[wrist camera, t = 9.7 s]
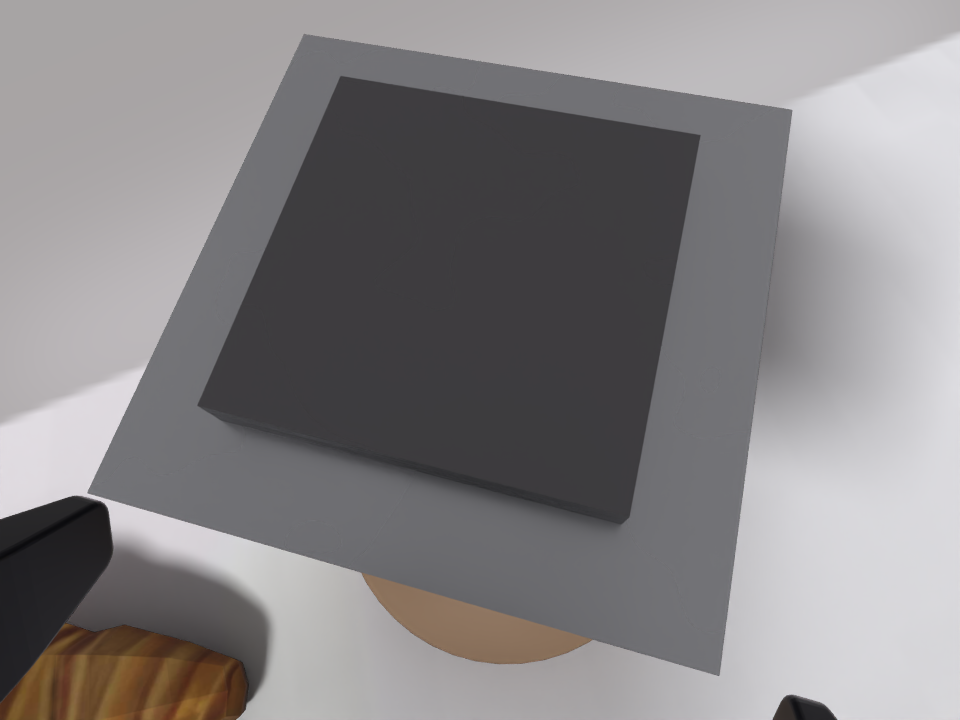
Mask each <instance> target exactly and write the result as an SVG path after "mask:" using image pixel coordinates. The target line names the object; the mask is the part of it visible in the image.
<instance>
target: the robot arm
mask: <svg viewBox="0 0 960 720" xmlns="http://www.w3.org/2000/svg"><path fill="white" fill-rule="evenodd" d="M112 554H113V541H112V533H111V526H110V518H109V511H108V508H107V506H106V505H105V504H104V503H103V502H101V501H97V500H94V499H90V498H87V497H83V496H71V497H68V498H65V499H62V500H59V501H55V502H52V503H49V504H46V505H43V506H40V507H37V508H34V509H31V510H28V511H25V512H21V513H18V514H15V515H12V516H9V517H6V518H3V519H0V703H1V702H2V701H3V700H4V699H5V697H6V696H7V695H8V694H9V693H10V692H11V691H12V690H13V688H14V687H15V686H16V685H17V684H18V683H19V682H20V680H21V679H22V678H23V677H24V676H25V675H26V673H27V672H28V671H29V670H30V669H31V667H32V666H33V665H34V664H35V662H36V661H37V660H38V659H39V657H40V656H41V655H42V653H43V652H44V651H45V650H46V648H47V647H48V646H49V644H50V643H51V642H52V640H53V639H54V638H55V636H56V635H57V634H58V632H59V631H60V630H61V628H62V627H63V625H64V624H65V623H66V621H67V620H68V619H69V617H70V616H71V615H72V613H73V612H74V611H75V609H76V608H77V607H78V605H79V604H80V603H81V601H82V600H83V599H84V597H85V596H86V594H87V593H88V592H89V590H90V589H91V588H92V586H93V585H94V584H95V582H96V581H97V580H98V578H99V577H100V576H101V574H102V573H103V572H104V570H105V569H106V567H107V566H108V564H109V562H110V560H111V557H112ZM773 720H837V718H836V717H835V716H834V714H833V713H832V712H831V711H830V710H829V708H827V707H826V706H825V705H824V704H822V703H820V702H817V701H814V700H810V699H807V698H803V697H799V696H796V695H787V696H785V697H784V698H783V700H782V701H781V703H780V705H779V707H778V709H777V711H776V713H775V715H774V717H773Z"/></svg>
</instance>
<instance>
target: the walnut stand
mask: <svg viewBox="0 0 960 720" xmlns="http://www.w3.org/2000/svg"><path fill="white" fill-rule="evenodd" d="M361 573H362V572H361ZM362 575H363V577H364V579H365V581H366V583H367V585H368V586H369V587H370V589H371V590H372V592H373V593H374V595H375V596H376V598H377V599H378V601H379V602H380V603H381V604H382V605H383V606H384V608H385V609H386V610H387V611H388V612H389V613H390V614H391V615H392V616H393V617H394V619H395V620H397V621H398V622H399V623H400V624H402V625H403V626H404V627H405V628H406V629H408V630H409V631H410V632H411V633H412V634H414V635H416V636H417V637H419V638H420V639H422V640H424V641H425V642H427V643H428V644H430V645H432V646H434V647H436V648H438V649H441V650H443V651H445V652H448V653H450V654H452V655H455V656H459V657H463V658H466V659H470V660H473V661H479V662H487V663H494V664H522V663H528V662H535V661H541V660H546V659H549V658H552V657H555V656H559V655H562V654H565V653H568V652H570V651H572V650H574V649H576V648H578V647H580V646H582V645H584V644H586V643H588V642H590V641H591V640H593V639H590V638H586V637H583V636H579V635H576V634H572V633H569V632H565V631H562V630H559V629H555V628H552V627H548V626H545V625H541V624H538V623H534V622H531V621H527V620H524V619H521V618H517V617H514V616H510V615H507V614H503V613H500V612H496V611H493V610H489V609H486V608H482V607H479V606H476V605H472V604H469V603H465V602H462V601H458V600H455V599H451V598H448V597H444V596H441V595H438V594H434V593H431V592H427V591H424V590H420V589H417V588H413V587H410V586H406V585H403V584H400V583H396V582H393V581H389V580H386V579H382V578H379V577H375V576H372V575H368V574H365V573H362Z"/></svg>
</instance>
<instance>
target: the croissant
mask: <svg viewBox="0 0 960 720" xmlns="http://www.w3.org/2000/svg"><path fill="white" fill-rule="evenodd" d="M248 687H249V684H248V680H247V677H246V673H245V670H244V666H243V663H242V662H240V661H238V660H236V659H233V658H231V657H228V656H226V655H223V654H220V653H218V652H215V651H212V650H210V649H207V648H204V647H202V646H199V645H196V644H194V643H191V642H188V641H184V640H180V639H177V638H173V637H169V636H165V635H161V634H157V633H154V632H150V631H146V630H142V629H138V628H135V627H131V626H127V625H122V626H118V627H114V628H110V629H106V630H102V631H98V632H92V631H89V630H86V629H83V628H80V627H77V626H73V625H70V624H67V623H65V624H64V625H63V627H62V628H61V630H60V631H59V632H58V634H57V635H56V636H55V638H54V639H53V640H52V642H51V643H50V644H49V646H48V647H47V648H46V650H45V651H44V652H43V653H42V655H41V656H40V657H39V659H38V660H37V661H36V662H35V664H34V665H33V666H32V667H31V669H30V670H29V671H28V672H27V673H26V675H25V676H24V677H23V678H22V679H21V680H20V682H19V683H18V684H17V685H16V686H15V687H14V688H13V690H12V691H11V692H10V693H9V694H8V695H7V696H6V697H5V699H4V700H3V701H2V702H1V703H0V720H236V719H237V718H239V717H240V716H241V715H242V713H243V712H244V711H245V710H246V702H247V694H248Z"/></svg>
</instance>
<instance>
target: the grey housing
mask: <svg viewBox="0 0 960 720" xmlns="http://www.w3.org/2000/svg"><path fill="white" fill-rule="evenodd" d="M791 116H792V110H790V109H783V108H777V107H770V106H764V105H758V104H751V103H745V102H738V101H732V100H725V99H719V98H712V97H706V96H700V95H693V94H687V93H680V92H674V91H667V90H660V89H654V88H647V87H641V86H635V85H628V84H622V83H616V82H609V81H603V80H596V79H590V78H583V77H577V76H571V75H564V74H558V73H551V72H544V71H538V70H532V69H525V68H519V67H513V66H506V65H499V64H493V63H486V62H480V61H474V60H467V59H460V58H454V57H448V56H442V55H435V54H429V53H422V52H416V51H409V50H403V49H397V48H390V47H384V46H377V45H371V44H364V43H358V42H351V41H345V40H339V39H332V38H325V37H319V36H313V35H306V34H304V35H303V38H302V40H301V42H300V44H299V46H298V48H297V50H296V52H295V54H294V57H293V59H292V61H291V63H290V65H289V67H288V69H287V71H286V74H285V76H284V78H283V80H282V82H281V84H280V86H279V88H278V90H277V93H276V95H275V97H274V99H273V101H272V103H271V105H270V108H269V110H268V112H267V114H266V116H265V118H264V120H263V122H262V124H261V127H260V129H259V131H258V133H257V135H256V137H255V139H254V141H253V143H252V146H251V148H250V150H249V152H248V154H247V156H246V158H245V160H244V163H243V164H242V167H241V169H240V171H239V173H238V175H237V177H236V179H235V181H234V184H233V186H232V188H231V190H230V192H229V194H228V196H227V198H226V200H225V203H224V205H223V207H222V209H221V211H220V213H219V215H218V217H217V220H216V222H215V224H214V226H213V228H212V230H211V232H210V234H209V237H208V239H207V241H206V243H205V245H204V247H203V249H202V251H201V253H200V255H199V258H198V260H197V262H196V264H195V266H194V268H193V270H192V273H191V274H190V277H189V279H188V281H187V283H186V285H185V287H184V289H183V291H182V293H181V296H180V298H179V300H178V302H177V304H176V306H175V308H174V310H173V313H172V315H171V317H170V319H169V321H168V323H167V326H166V327H165V329H164V332H163V334H162V336H161V338H160V340H159V342H158V344H157V347H156V348H155V351H154V353H153V355H152V357H151V359H150V361H149V363H148V365H147V368H146V370H145V372H144V374H143V376H142V378H141V380H140V382H139V384H138V387H137V389H136V391H135V393H134V395H133V397H132V399H131V401H130V403H129V406H128V408H127V410H126V412H125V414H124V416H123V418H122V420H121V423H120V425H119V427H118V429H117V431H116V433H115V435H114V437H113V439H112V442H111V444H110V446H109V448H108V450H107V452H106V454H105V456H104V458H103V461H102V463H101V465H100V467H99V469H98V471H97V473H96V475H95V478H94V480H93V482H92V484H91V486H90V488H89V490H88V492H87V493H89V494H92V495H95V496H99V497H102V498H106V499H109V500H113V501H116V502H120V503H123V504H127V505H130V506H133V507H137V508H140V509H144V510H147V511H151V512H154V513H158V514H161V515H165V516H168V517H171V518H175V519H178V520H182V521H185V522H189V523H192V524H196V525H199V526H203V527H206V528H210V529H213V530H216V531H220V532H223V533H227V534H230V535H234V536H237V537H241V538H244V539H248V540H251V541H254V542H258V543H261V544H265V545H268V546H272V547H275V548H279V549H282V550H286V551H289V552H292V553H296V554H299V555H303V556H306V557H310V558H313V559H317V560H320V561H324V562H327V563H330V564H334V565H337V566H341V567H344V568H348V569H351V570H355V571H358V572H362V573H365V574H368V575H372V576H375V577H379V578H382V579H386V580H389V581H393V582H396V583H400V584H403V585H406V586H410V587H413V588H417V589H420V590H424V591H427V592H431V593H434V594H438V595H441V596H444V597H448V598H451V599H455V600H458V601H462V602H465V603H469V604H472V605H476V606H479V607H482V608H486V609H489V610H493V611H496V612H500V613H503V614H507V615H510V616H514V617H517V618H521V619H524V620H527V621H531V622H534V623H538V624H541V625H545V626H548V627H552V628H555V629H559V630H562V631H565V632H569V633H572V634H576V635H579V636H583V637H586V638H590V639H593V640H597V641H600V642H603V643H607V644H610V645H614V646H617V647H621V648H624V649H628V650H631V651H635V652H638V653H641V654H645V655H648V656H652V657H655V658H659V659H662V660H666V661H669V662H673V663H676V664H679V665H683V666H686V667H690V668H693V669H697V670H700V671H704V672H707V673H711V674H714V675H717V676H719V674H720V666H721V659H722V651H723V643H724V635H725V628H726V620H727V612H728V604H729V597H730V589H731V581H732V573H733V566H734V558H735V550H736V542H737V535H738V527H739V519H740V512H741V504H742V496H743V488H744V481H745V473H746V465H747V457H748V450H749V442H750V434H751V426H752V419H753V411H754V403H755V395H756V388H757V380H758V372H759V364H760V357H761V349H762V341H763V333H764V326H765V318H766V310H767V302H768V295H769V287H770V279H771V271H772V264H773V256H774V248H775V240H776V233H777V225H778V217H779V209H780V202H781V194H782V186H783V178H784V171H785V163H786V155H787V147H788V140H789V132H790V124H791Z"/></svg>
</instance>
